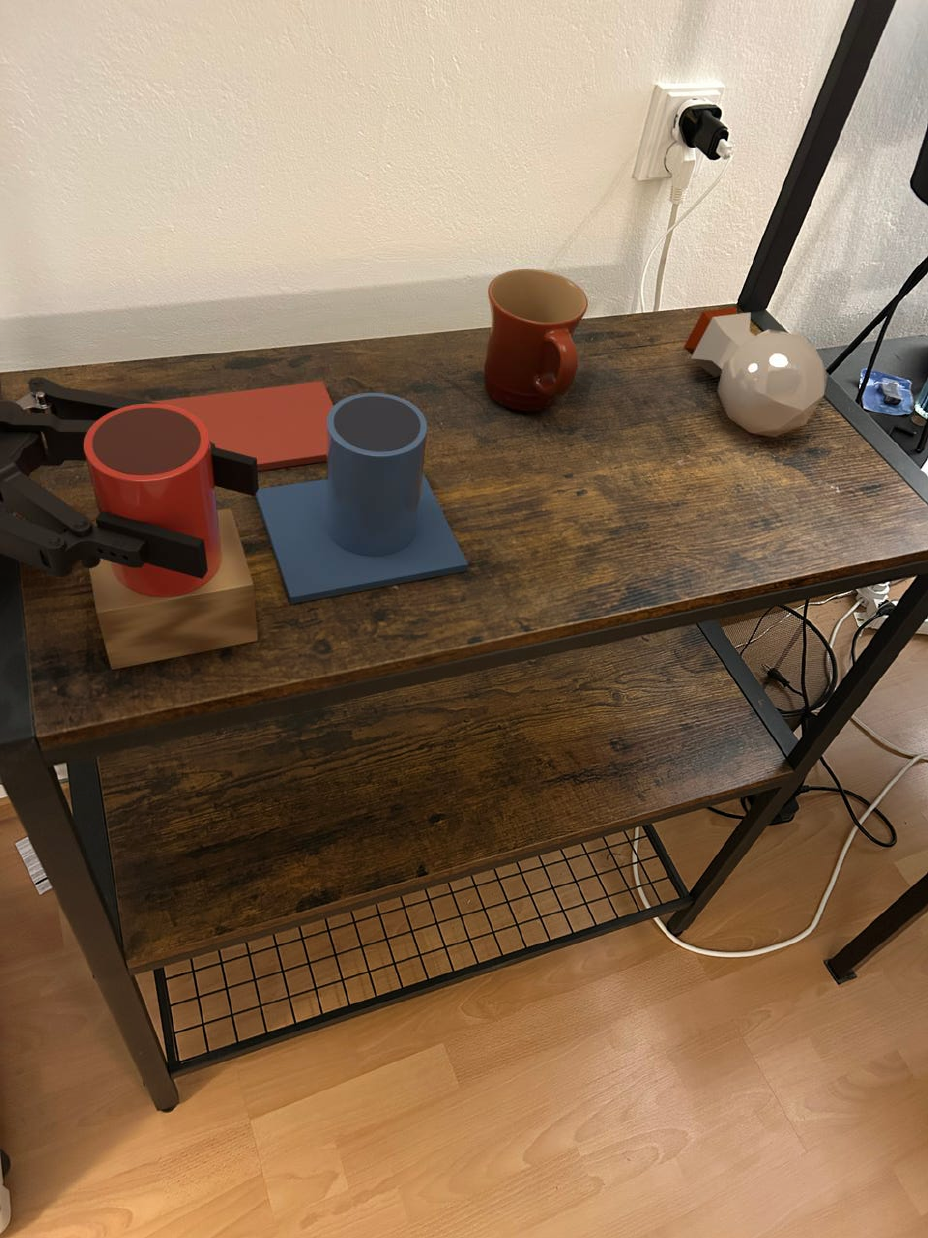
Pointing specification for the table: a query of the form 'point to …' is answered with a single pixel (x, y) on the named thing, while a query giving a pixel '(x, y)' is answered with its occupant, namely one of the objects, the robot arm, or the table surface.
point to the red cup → (156, 485)
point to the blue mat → (330, 569)
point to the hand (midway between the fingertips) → (230, 516)
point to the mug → (532, 338)
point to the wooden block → (178, 610)
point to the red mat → (266, 422)
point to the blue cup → (374, 473)
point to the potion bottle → (758, 372)
